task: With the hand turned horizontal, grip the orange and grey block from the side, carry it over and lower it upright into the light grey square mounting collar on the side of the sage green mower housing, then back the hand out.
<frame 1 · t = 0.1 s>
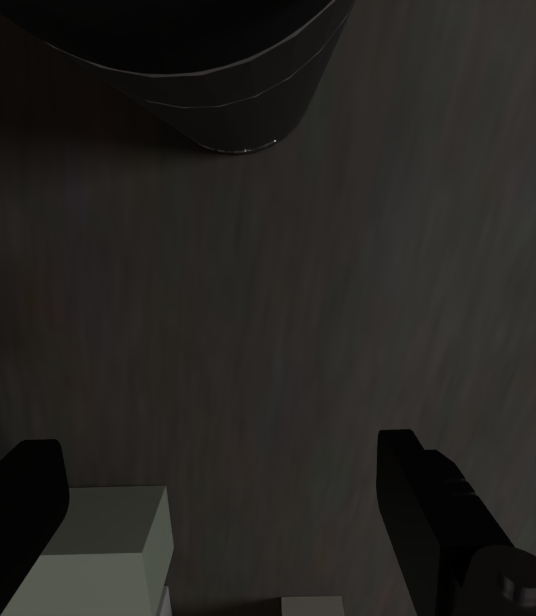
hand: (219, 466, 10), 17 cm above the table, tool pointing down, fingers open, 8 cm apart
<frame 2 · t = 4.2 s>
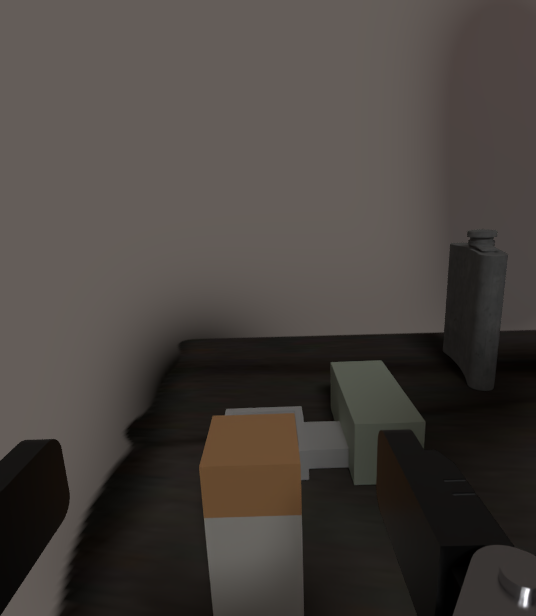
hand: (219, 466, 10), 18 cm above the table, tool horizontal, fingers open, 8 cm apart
orange and grey block: (261, 607, 25), on the table
hip flask: (468, 368, 60), on the table
mower housing: (264, 454, 41), on the table
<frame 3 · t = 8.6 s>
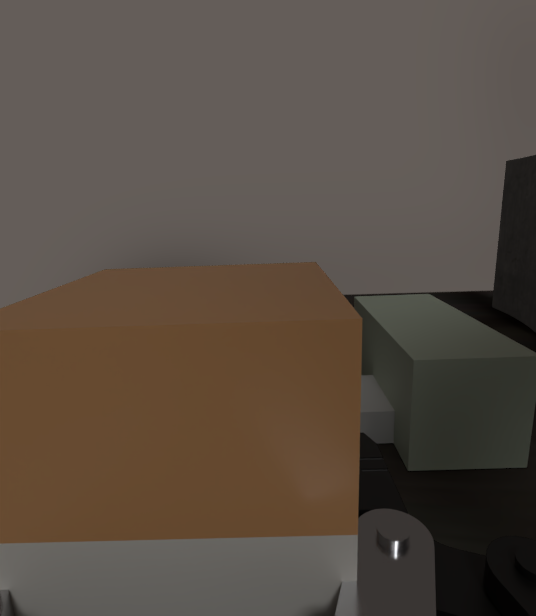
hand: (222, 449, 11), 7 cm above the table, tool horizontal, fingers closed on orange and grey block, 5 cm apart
hip flask: (533, 323, 45), on the table
mower housing: (254, 424, 26), on the table
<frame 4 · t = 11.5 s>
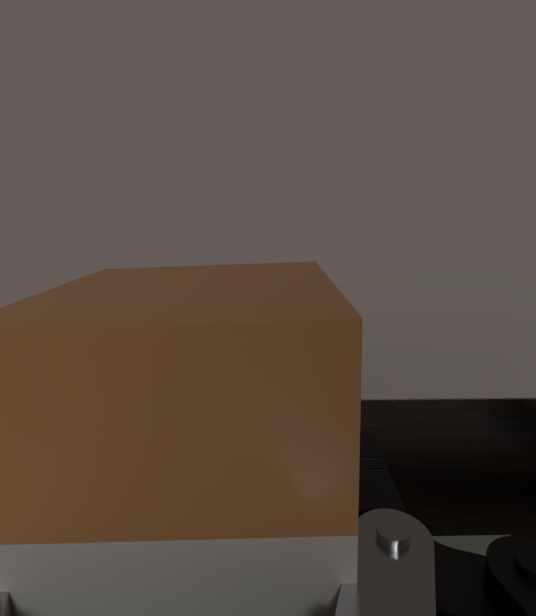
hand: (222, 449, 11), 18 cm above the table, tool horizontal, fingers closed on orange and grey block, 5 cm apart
when the fingers open (8 cm above the table, at t = 14.6 s): orange and grey block drops 1 cm, resting in mower housing.
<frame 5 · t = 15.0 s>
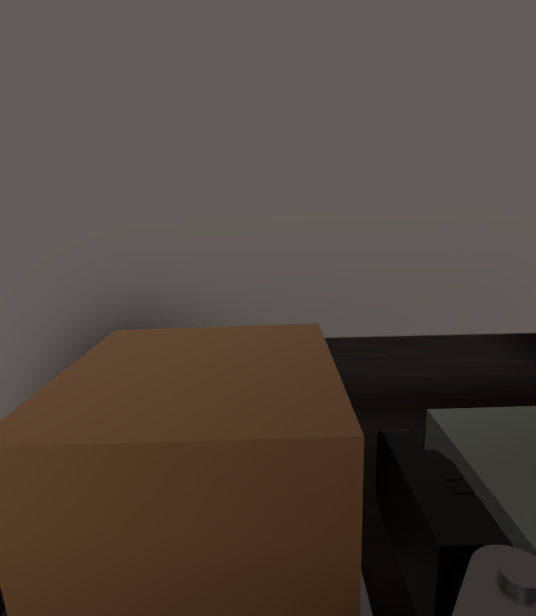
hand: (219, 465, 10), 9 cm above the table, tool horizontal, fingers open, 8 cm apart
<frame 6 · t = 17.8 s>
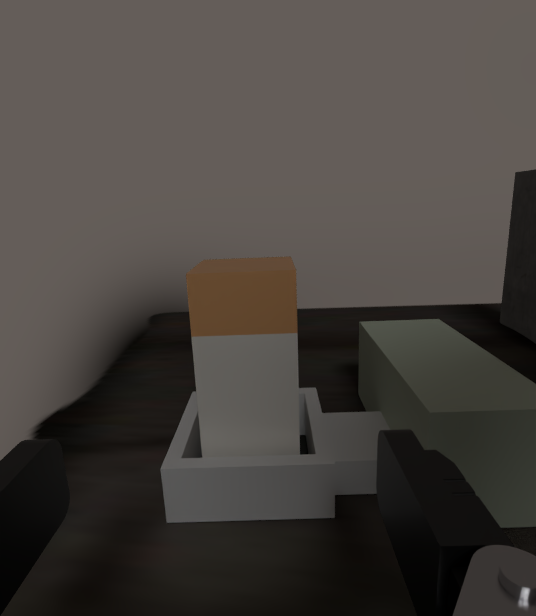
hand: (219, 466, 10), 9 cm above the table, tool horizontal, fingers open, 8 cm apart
orange and grey block: (255, 468, 24), resting in mower housing
mower housing: (253, 467, 24), on the table
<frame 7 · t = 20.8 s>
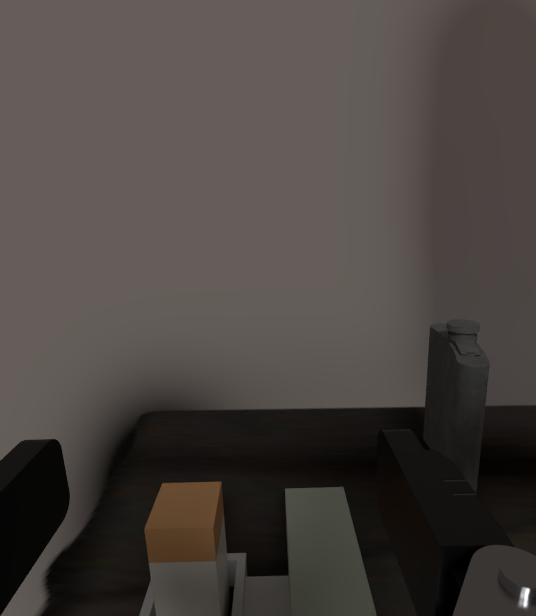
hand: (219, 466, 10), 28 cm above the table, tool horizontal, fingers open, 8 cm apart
hip flask: (449, 468, 54), on the table
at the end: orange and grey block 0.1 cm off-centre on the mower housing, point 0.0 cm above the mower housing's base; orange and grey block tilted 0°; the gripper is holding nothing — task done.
